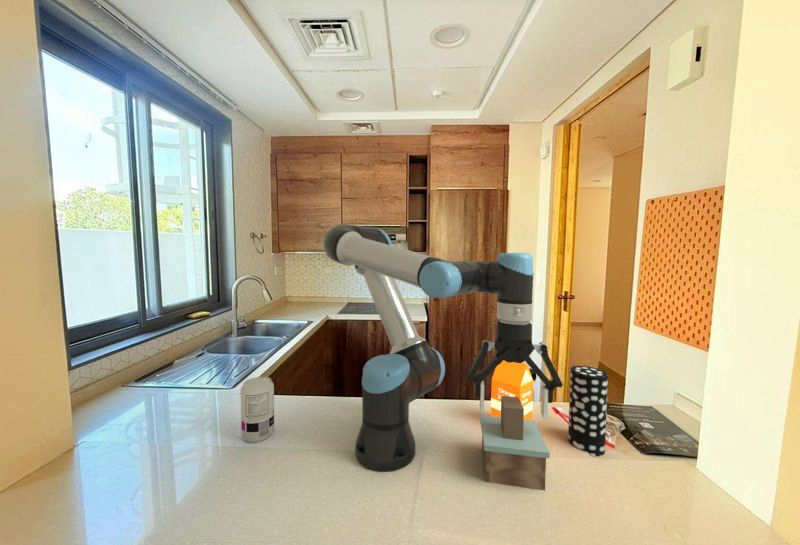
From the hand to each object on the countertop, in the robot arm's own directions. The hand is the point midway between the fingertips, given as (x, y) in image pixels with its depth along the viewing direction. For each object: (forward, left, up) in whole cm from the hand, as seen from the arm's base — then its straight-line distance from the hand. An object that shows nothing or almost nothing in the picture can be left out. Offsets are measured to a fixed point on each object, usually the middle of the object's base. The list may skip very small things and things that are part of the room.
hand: (512, 413), depth 71 cm
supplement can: (-66, +1, -14) cm, 68 cm away
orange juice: (+3, +19, -14) cm, 24 cm away
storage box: (0, 0, -14) cm, 14 cm away
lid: (0, 0, -6) cm, 6 cm away
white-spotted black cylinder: (+21, +14, -14) cm, 29 cm away
